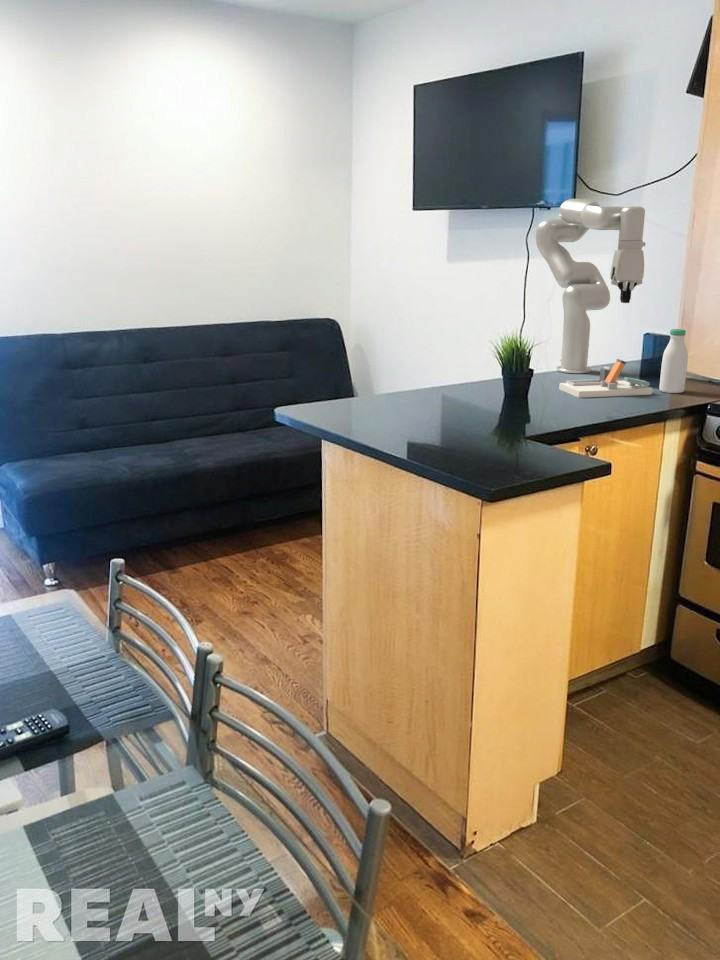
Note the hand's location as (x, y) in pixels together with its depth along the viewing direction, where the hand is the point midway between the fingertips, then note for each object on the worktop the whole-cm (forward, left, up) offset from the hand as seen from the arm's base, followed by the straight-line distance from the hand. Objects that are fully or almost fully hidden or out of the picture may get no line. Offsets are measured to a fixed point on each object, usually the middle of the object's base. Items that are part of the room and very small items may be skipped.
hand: (625, 302), depth 274 cm
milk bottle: (+19, +9, -27) cm, 34 cm away
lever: (+19, -13, -24) cm, 33 cm away
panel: (+15, -12, -27) cm, 33 cm away
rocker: (+20, -4, -24) cm, 31 cm away
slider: (+11, -10, -25) cm, 29 cm away
